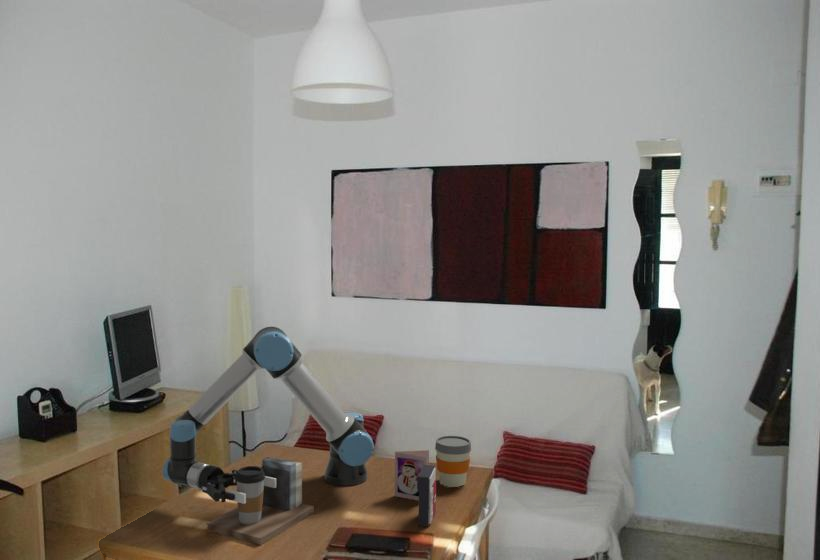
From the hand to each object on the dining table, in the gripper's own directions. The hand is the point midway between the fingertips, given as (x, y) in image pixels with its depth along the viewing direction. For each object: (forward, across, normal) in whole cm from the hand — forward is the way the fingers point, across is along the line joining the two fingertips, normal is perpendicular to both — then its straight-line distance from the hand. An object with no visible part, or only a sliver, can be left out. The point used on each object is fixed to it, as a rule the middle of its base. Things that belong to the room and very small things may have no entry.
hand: (260, 490), depth 194 cm
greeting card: (+27, -44, -12) cm, 53 cm away
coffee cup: (-4, 0, -10) cm, 10 cm away
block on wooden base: (-3, -5, -11) cm, 13 cm away
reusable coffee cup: (+34, -62, -12) cm, 71 cm away
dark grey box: (+39, -30, -12) cm, 51 cm away
